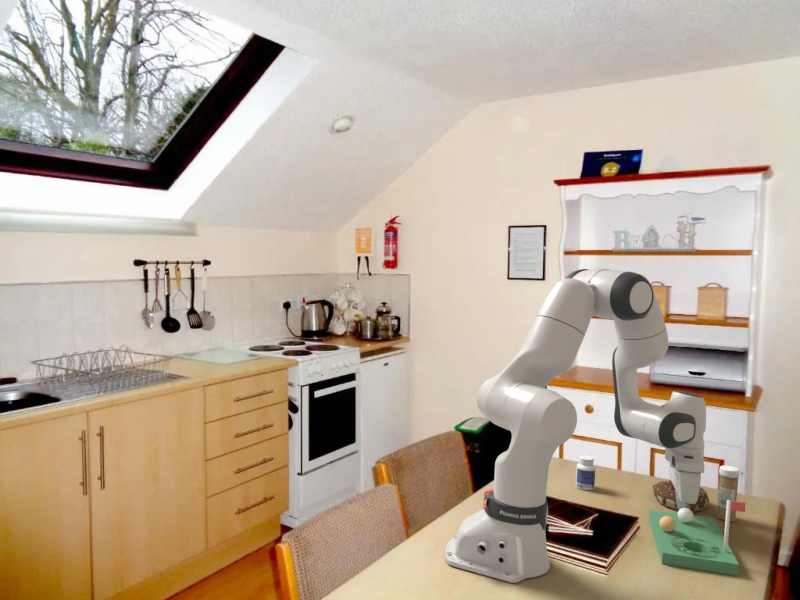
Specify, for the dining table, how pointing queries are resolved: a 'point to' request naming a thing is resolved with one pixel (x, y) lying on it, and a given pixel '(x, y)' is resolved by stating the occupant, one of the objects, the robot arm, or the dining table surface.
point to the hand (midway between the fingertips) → (680, 507)
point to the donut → (668, 496)
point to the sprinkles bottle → (727, 490)
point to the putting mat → (696, 542)
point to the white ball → (685, 515)
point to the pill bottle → (585, 473)
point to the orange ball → (667, 523)
